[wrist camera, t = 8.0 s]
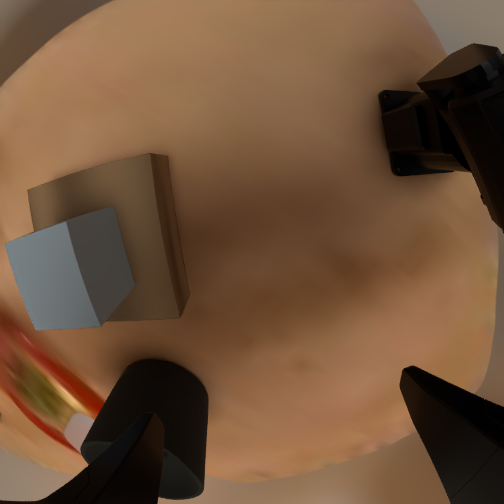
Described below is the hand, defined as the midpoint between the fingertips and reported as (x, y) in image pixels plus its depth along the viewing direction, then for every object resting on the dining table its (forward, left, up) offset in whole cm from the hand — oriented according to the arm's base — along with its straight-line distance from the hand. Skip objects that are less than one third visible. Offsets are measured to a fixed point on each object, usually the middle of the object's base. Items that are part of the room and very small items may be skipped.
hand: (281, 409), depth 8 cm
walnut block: (+10, -5, -12) cm, 17 cm away
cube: (+10, -5, -8) cm, 14 cm away
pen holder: (+11, +10, -12) cm, 19 cm away
